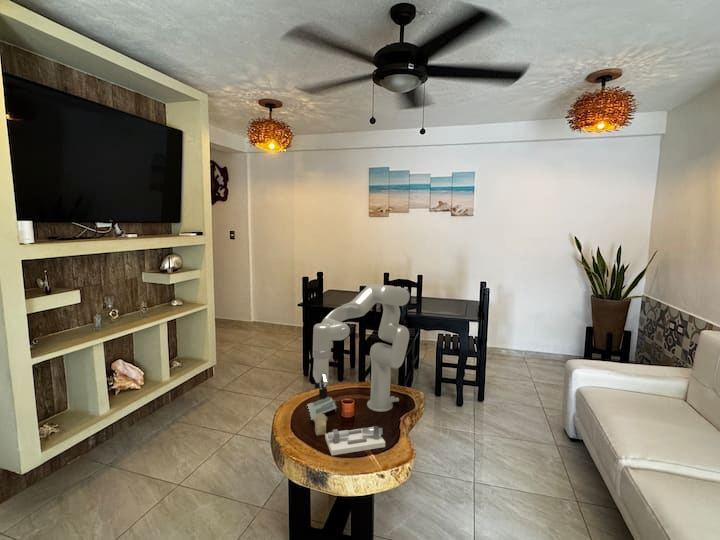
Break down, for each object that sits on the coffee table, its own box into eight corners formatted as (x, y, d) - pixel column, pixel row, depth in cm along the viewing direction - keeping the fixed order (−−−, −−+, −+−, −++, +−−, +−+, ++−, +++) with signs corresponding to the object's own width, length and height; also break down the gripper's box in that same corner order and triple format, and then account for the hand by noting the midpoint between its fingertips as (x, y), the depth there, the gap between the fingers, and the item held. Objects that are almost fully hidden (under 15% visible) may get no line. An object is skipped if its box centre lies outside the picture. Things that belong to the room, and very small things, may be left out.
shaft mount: (375, 431, 157) (375, 418, 157) (385, 446, 146) (385, 433, 145) (325, 438, 151) (325, 425, 150) (331, 455, 140) (331, 441, 139)
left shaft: (362, 439, 147) (362, 430, 147) (362, 434, 151) (362, 425, 151) (382, 439, 148) (382, 430, 147) (381, 434, 151) (382, 425, 151)
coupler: (325, 429, 158) (326, 413, 157) (327, 433, 154) (328, 418, 154) (313, 430, 156) (313, 415, 156) (314, 435, 153) (314, 419, 152)
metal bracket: (331, 391, 182) (338, 405, 168) (334, 402, 183) (341, 416, 169) (303, 402, 179) (308, 417, 164) (306, 412, 180) (311, 428, 165)
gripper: (309, 347, 159) (308, 385, 160) (316, 361, 142) (315, 403, 144) (326, 346, 161) (325, 383, 163) (335, 359, 144) (334, 401, 146)
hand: (320, 392), depth 153 cm, fingers open, 9 cm apart
